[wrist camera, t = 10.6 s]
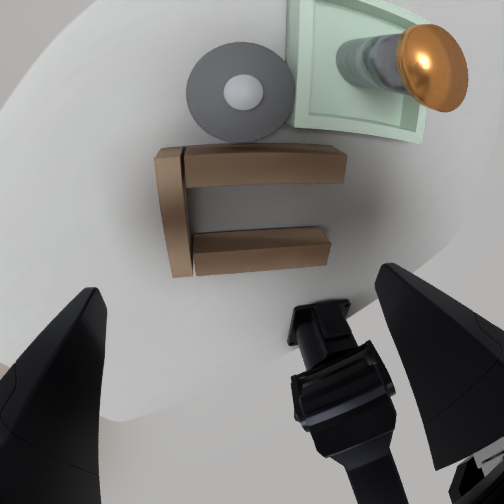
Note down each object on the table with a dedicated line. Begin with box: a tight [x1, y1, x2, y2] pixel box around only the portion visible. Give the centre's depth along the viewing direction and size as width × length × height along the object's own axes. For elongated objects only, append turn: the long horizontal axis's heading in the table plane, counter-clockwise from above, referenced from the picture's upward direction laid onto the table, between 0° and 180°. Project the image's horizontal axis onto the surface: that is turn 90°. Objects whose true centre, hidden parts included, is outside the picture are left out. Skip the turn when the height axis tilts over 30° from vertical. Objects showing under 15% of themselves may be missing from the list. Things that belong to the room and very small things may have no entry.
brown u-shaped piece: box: [154, 143, 347, 278], centre depth 18 cm, size 9×12×2 cm
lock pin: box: [336, 24, 468, 112], centre depth 10 cm, size 4×4×8 cm
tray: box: [285, 0, 432, 144], centre depth 13 cm, size 10×10×3 cm
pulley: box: [186, 42, 295, 143], centre depth 13 cm, size 6×6×3 cm
